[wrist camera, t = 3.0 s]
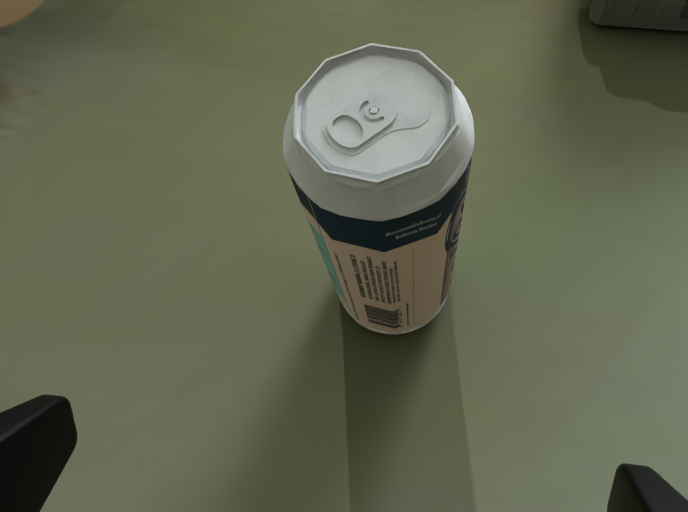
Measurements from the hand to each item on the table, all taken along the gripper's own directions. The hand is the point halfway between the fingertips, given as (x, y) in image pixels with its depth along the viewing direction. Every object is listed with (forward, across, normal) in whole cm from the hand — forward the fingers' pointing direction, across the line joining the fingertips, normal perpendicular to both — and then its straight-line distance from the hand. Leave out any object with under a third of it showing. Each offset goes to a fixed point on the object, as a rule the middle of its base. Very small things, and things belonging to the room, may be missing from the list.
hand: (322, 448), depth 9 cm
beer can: (+15, 0, +4) cm, 15 cm away
